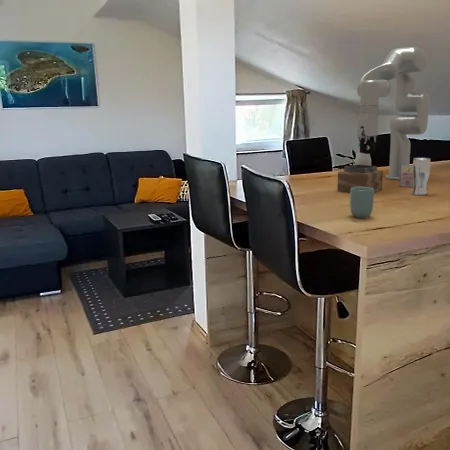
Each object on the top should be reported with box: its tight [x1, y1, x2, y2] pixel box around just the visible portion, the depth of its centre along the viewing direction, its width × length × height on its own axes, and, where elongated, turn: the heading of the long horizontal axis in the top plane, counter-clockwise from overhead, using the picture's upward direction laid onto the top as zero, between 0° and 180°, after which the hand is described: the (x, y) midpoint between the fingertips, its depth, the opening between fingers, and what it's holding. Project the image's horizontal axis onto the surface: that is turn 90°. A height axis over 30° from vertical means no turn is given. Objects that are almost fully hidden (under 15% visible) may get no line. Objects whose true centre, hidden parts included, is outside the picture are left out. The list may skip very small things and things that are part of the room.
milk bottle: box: [354, 143, 372, 166], centre depth 228 cm, size 8×8×20 cm
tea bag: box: [398, 164, 413, 188], centre depth 222 cm, size 4×7×10 cm, turn 70°
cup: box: [349, 187, 375, 219], centre depth 167 cm, size 8×8×10 cm
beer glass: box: [411, 157, 431, 196], centre depth 203 cm, size 7×7×15 cm
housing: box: [337, 164, 384, 193], centre depth 215 cm, size 14×14×11 cm
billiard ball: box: [364, 139, 376, 155], centre depth 211 cm, size 6×6×6 cm
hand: (367, 151), depth 211 cm, fingers closed on billiard ball, 6 cm apart
